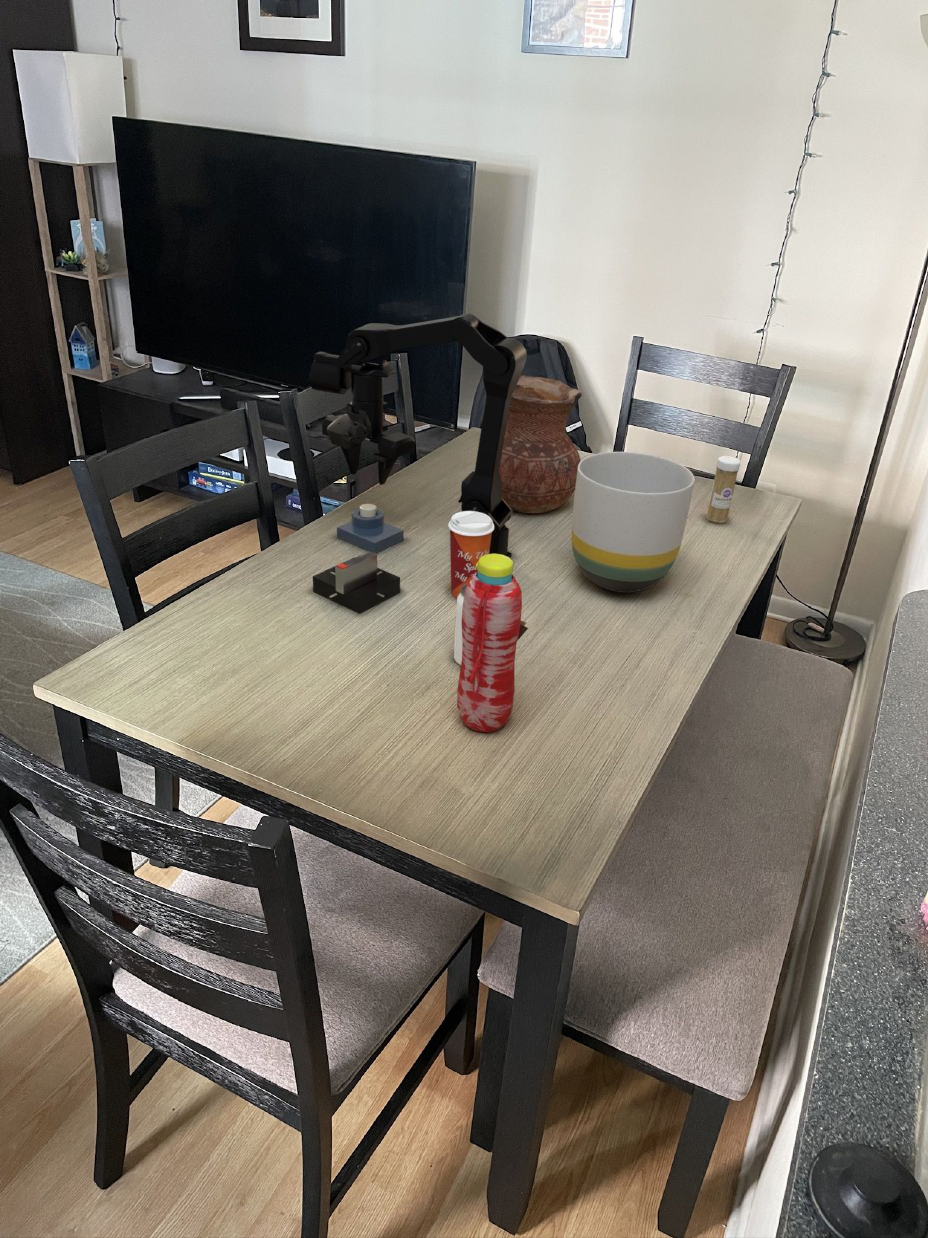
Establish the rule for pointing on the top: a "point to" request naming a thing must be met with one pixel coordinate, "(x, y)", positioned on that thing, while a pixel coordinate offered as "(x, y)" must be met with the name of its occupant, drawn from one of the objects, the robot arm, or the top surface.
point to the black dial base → (358, 590)
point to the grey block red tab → (356, 572)
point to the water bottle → (489, 644)
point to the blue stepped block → (370, 532)
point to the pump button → (367, 510)
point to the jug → (539, 446)
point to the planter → (629, 518)
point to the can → (459, 626)
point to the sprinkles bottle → (723, 489)
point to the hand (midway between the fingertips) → (367, 479)
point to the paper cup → (467, 545)
